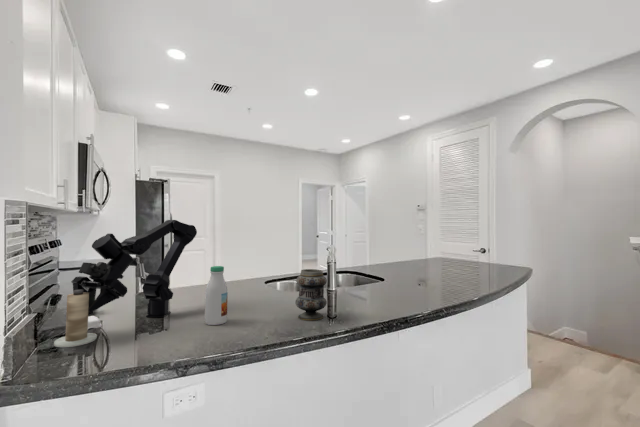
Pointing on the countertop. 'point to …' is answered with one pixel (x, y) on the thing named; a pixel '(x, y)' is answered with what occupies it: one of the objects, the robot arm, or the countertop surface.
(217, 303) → the milk bottle
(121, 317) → the countertop surface
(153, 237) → the robot arm
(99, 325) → the soap
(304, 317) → the apothecary jar
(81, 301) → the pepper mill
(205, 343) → the countertop surface
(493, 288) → the countertop surface
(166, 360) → the countertop surface
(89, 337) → the saucer
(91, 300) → the cup
